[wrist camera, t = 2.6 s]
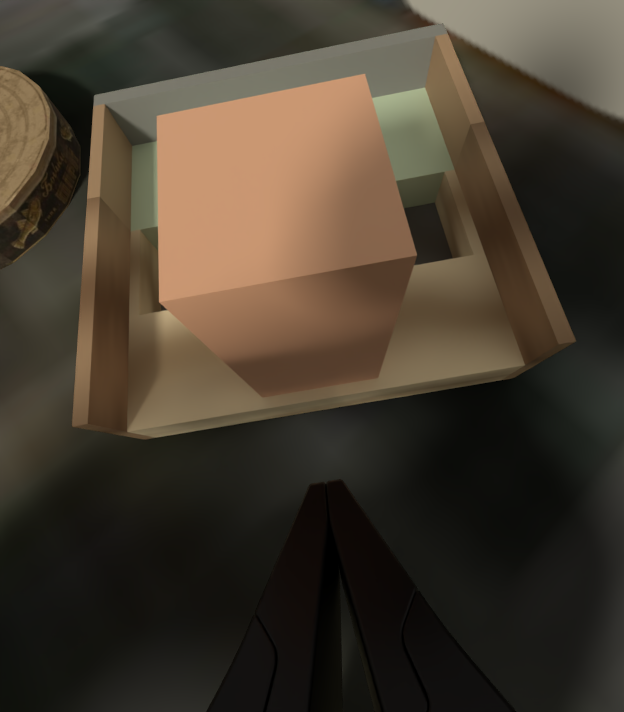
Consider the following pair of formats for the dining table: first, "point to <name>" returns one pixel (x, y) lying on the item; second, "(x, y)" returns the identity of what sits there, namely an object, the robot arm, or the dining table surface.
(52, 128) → the wood slice
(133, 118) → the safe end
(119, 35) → the dining table surface
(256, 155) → the terracotta block
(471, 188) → the board
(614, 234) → the dining table surface
